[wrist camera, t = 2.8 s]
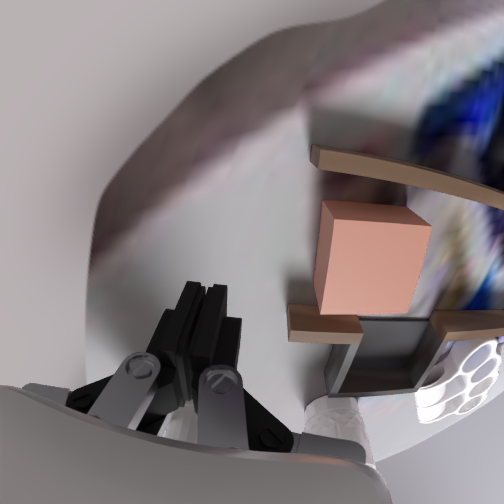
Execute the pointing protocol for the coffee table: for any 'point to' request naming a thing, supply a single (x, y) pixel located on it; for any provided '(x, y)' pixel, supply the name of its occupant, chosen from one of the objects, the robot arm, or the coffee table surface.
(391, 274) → the salmon pink square block
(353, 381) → the channel
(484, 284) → the coffee table surface
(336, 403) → the white cup
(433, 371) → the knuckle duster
